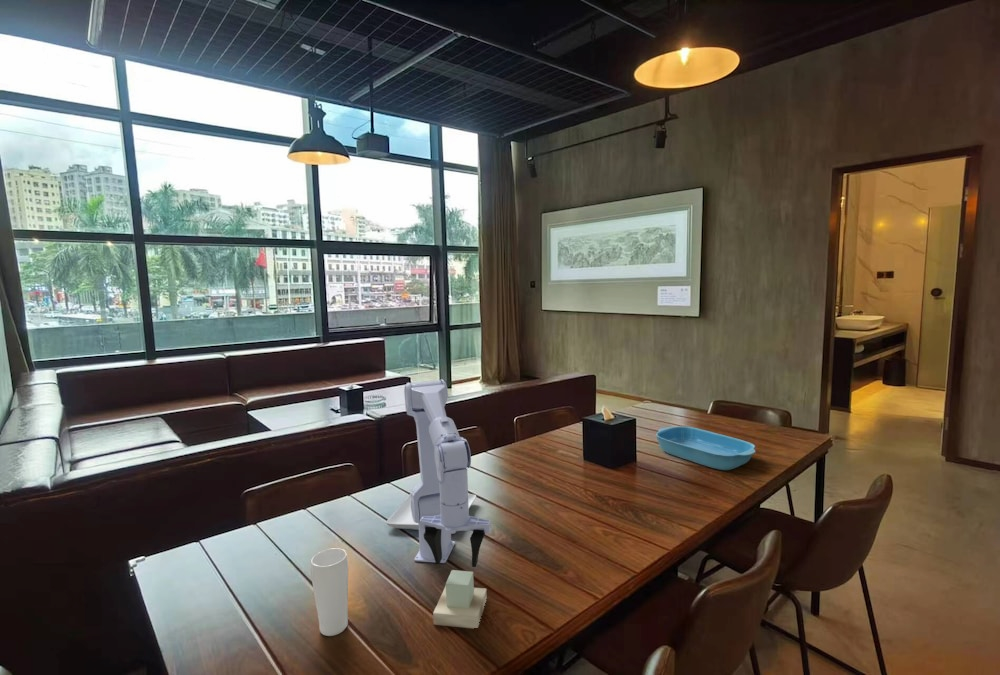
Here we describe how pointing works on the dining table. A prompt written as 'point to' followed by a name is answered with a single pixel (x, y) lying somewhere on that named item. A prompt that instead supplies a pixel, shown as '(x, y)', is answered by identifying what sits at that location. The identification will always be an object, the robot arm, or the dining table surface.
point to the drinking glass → (331, 589)
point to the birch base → (461, 611)
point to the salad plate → (410, 514)
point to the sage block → (459, 589)
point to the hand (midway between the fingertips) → (456, 562)
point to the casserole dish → (705, 447)
